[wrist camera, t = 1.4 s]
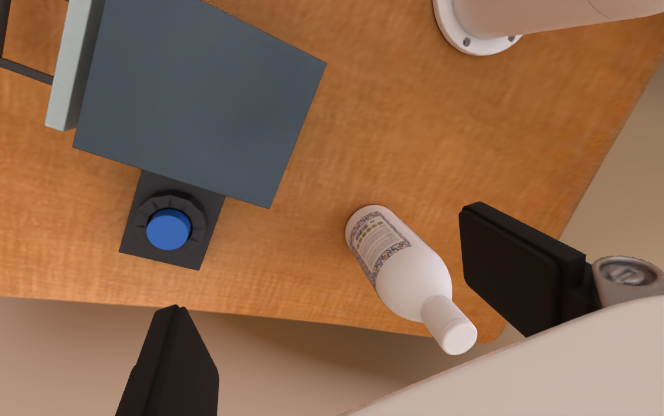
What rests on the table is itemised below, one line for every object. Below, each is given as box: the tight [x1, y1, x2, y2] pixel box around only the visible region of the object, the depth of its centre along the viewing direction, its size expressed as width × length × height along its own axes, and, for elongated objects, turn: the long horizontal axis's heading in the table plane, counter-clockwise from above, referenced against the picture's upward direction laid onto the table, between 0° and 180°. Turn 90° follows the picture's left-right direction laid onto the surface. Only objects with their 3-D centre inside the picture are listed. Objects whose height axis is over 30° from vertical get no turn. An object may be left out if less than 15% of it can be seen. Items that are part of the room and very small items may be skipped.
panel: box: [119, 169, 226, 271], centre depth 35 cm, size 10×8×4 cm
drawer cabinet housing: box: [73, 0, 327, 209], centre depth 29 cm, size 15×13×10 cm
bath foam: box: [345, 205, 477, 355], centre depth 34 cm, size 7×7×20 cm
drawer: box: [0, 0, 105, 131], centre depth 27 cm, size 19×11×8 cm, turn 66°
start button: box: [146, 209, 190, 250], centre depth 33 cm, size 4×4×2 cm
